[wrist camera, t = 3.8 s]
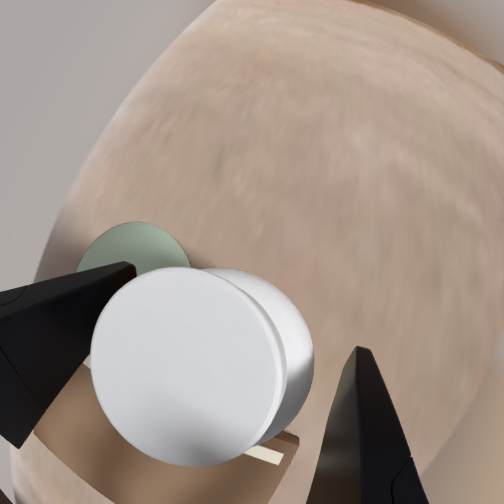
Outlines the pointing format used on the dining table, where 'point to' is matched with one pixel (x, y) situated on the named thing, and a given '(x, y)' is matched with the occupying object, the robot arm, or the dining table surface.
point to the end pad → (135, 249)
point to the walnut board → (145, 467)
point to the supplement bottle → (200, 363)
